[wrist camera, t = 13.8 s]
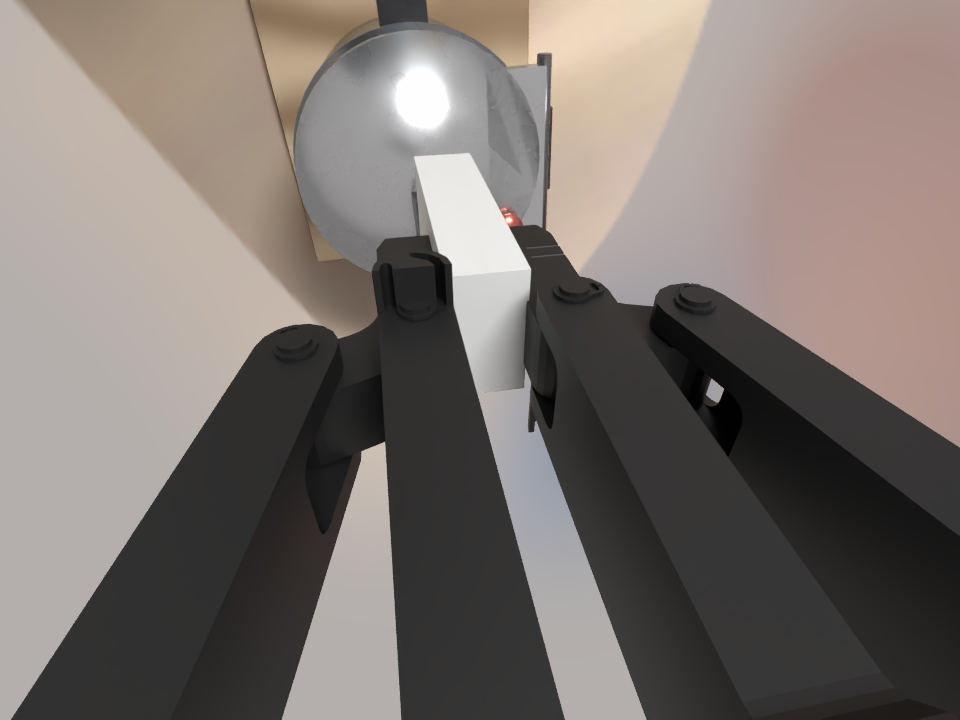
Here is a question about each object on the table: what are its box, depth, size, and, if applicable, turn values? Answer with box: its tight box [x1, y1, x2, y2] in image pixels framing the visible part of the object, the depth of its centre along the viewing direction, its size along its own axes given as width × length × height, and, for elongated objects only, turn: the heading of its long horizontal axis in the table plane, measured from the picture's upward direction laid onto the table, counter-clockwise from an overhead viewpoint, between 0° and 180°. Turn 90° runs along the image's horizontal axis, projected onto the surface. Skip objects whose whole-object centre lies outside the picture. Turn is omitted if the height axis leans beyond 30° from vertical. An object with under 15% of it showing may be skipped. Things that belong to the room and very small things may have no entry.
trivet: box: [250, 0, 529, 262], centre depth 40 cm, size 20×18×1 cm
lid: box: [295, 29, 552, 273], centre depth 31 cm, size 14×15×3 cm
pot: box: [293, 0, 552, 189], centre depth 37 cm, size 24×16×9 cm, turn 3°
